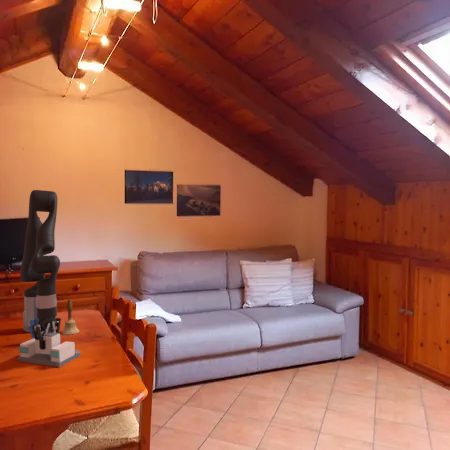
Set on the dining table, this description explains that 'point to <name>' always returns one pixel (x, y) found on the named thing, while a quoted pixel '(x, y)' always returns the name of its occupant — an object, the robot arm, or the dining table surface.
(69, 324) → the hand bell
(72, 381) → the dining table surface
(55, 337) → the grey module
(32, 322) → the grapes
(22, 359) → the rail board
